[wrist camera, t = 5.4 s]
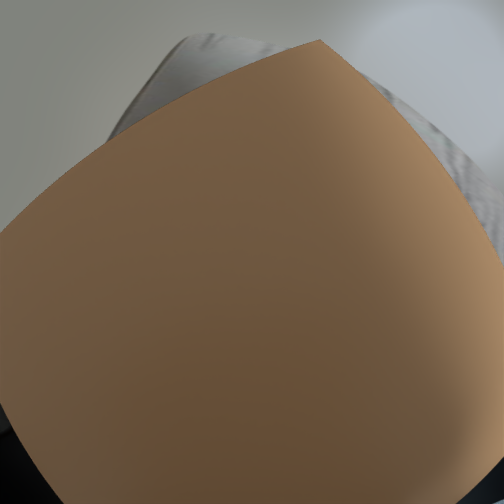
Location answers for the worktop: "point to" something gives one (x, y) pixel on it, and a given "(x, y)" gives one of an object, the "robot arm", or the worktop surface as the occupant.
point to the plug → (256, 305)
